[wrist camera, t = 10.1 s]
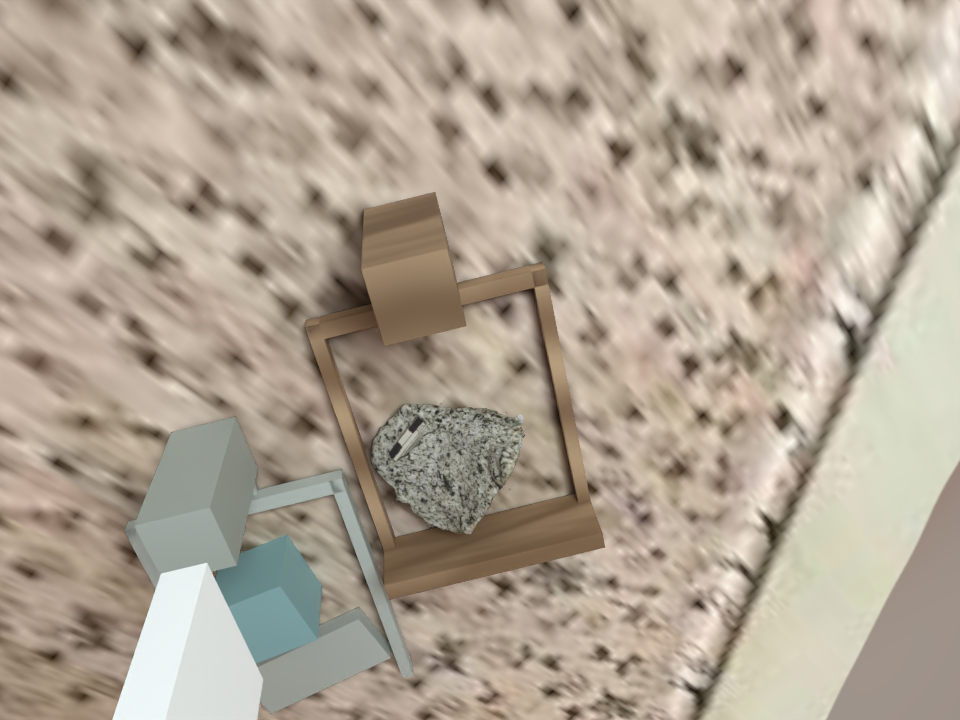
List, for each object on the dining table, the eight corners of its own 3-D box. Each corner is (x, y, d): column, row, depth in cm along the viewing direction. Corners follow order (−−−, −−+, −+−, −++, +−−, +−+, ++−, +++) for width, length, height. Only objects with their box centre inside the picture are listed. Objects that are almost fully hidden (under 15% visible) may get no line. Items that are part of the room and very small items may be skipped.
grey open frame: (91, 451, 51) (39, 549, 44) (315, 396, 51) (304, 484, 43) (228, 709, 63) (206, 824, 55) (412, 664, 62) (417, 773, 54)
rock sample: (370, 389, 47) (468, 510, 45) (467, 340, 52) (561, 448, 50) (331, 477, 55) (413, 585, 53) (419, 427, 60) (498, 524, 57)
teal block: (219, 561, 57) (206, 615, 52) (287, 533, 56) (279, 586, 52) (257, 610, 59) (247, 666, 55) (322, 585, 59) (317, 639, 54)
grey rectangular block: (238, 664, 61) (235, 677, 60) (358, 606, 60) (358, 619, 59) (273, 700, 63) (271, 713, 62) (390, 645, 62) (390, 657, 61)
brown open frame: (275, 231, 46) (254, 295, 38) (524, 170, 46) (554, 222, 38) (388, 553, 57) (390, 655, 50) (589, 504, 57) (623, 599, 49)
